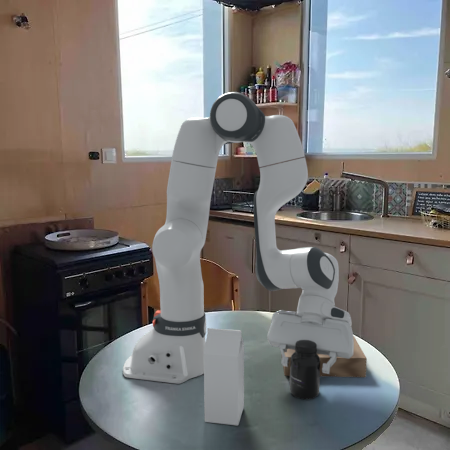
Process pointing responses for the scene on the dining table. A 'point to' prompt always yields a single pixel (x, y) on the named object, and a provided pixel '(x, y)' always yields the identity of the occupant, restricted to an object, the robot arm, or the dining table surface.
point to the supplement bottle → (305, 370)
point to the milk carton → (223, 376)
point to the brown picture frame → (339, 364)
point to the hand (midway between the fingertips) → (304, 369)
